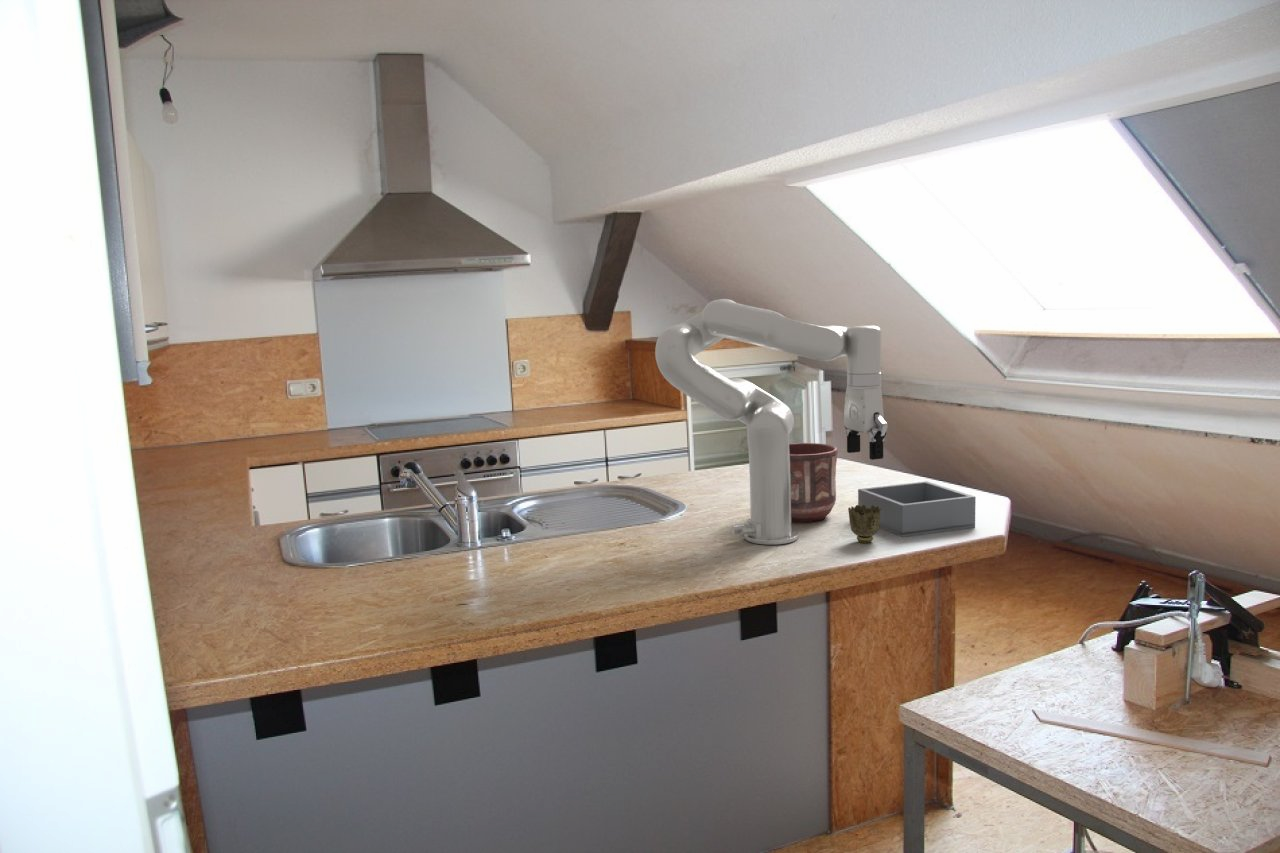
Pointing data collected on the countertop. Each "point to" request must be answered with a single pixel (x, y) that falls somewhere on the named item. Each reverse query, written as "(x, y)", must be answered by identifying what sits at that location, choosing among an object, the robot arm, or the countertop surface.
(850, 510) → the brown patterned lamp shade
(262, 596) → the countertop surface
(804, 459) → the pottery
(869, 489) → the crate
